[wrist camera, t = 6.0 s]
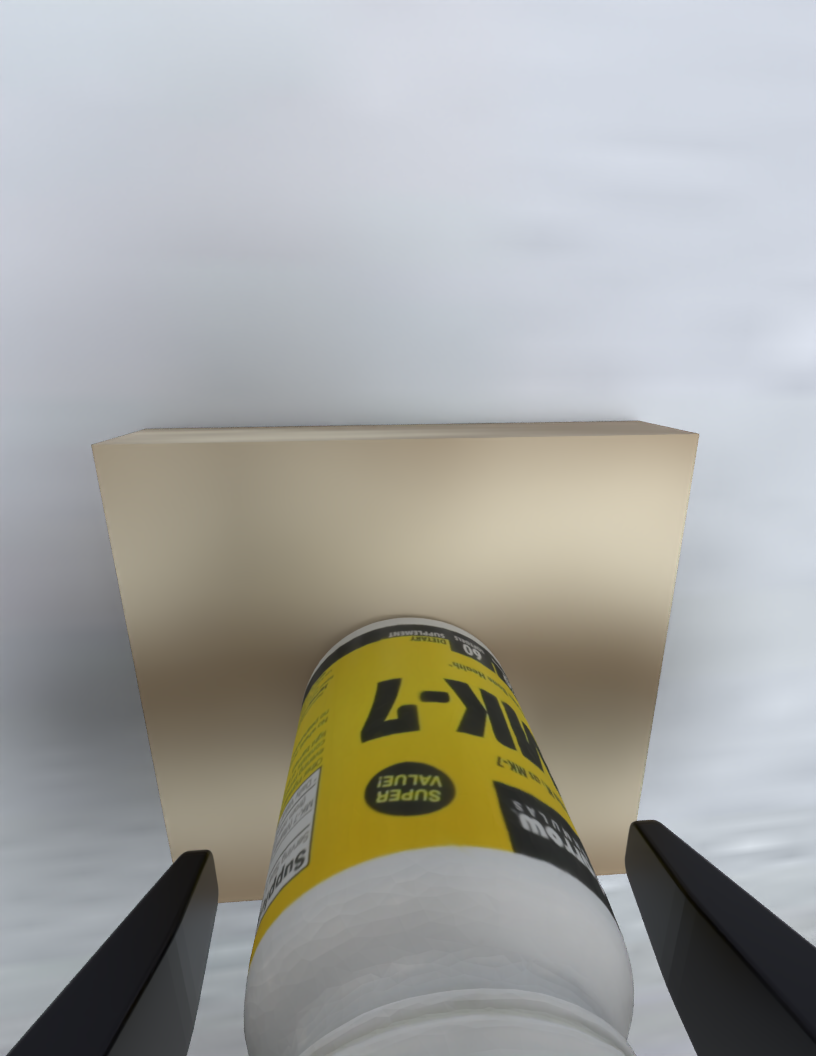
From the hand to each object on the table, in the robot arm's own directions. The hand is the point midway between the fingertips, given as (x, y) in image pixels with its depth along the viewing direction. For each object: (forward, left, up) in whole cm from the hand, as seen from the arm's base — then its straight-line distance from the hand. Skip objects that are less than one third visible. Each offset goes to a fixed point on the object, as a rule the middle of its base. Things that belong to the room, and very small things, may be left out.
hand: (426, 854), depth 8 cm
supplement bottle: (0, 0, -4) cm, 4 cm away
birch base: (0, 0, -6) cm, 6 cm away
